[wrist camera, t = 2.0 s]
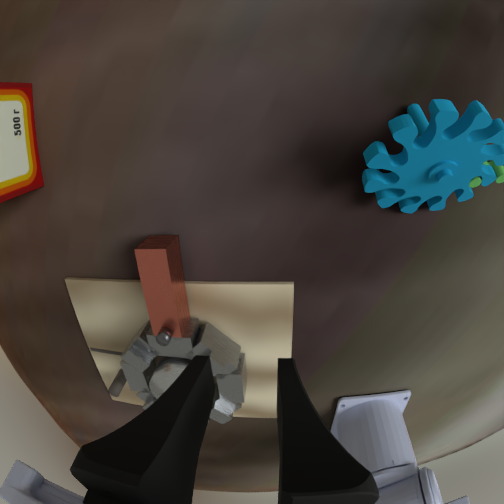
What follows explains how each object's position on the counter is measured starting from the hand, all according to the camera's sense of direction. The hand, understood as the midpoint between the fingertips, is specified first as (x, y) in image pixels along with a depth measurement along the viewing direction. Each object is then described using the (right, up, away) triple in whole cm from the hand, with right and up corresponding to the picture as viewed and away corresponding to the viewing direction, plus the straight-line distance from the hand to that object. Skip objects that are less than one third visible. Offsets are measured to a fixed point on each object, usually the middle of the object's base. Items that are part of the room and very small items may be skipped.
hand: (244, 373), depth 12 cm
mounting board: (-6, -4, +14) cm, 16 cm away
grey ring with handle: (-6, -2, +11) cm, 13 cm away
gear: (+12, +12, +6) cm, 18 cm away
